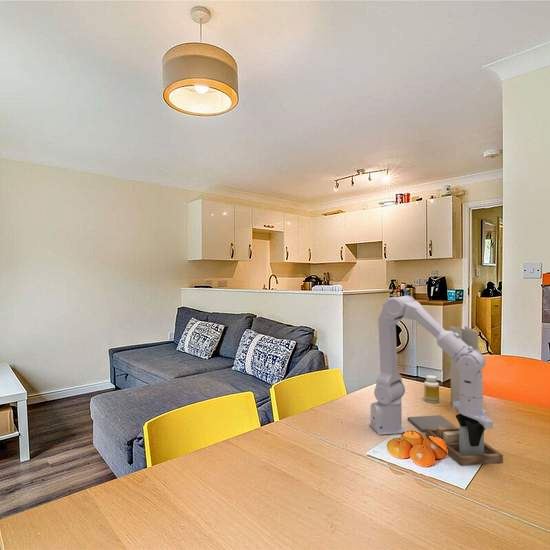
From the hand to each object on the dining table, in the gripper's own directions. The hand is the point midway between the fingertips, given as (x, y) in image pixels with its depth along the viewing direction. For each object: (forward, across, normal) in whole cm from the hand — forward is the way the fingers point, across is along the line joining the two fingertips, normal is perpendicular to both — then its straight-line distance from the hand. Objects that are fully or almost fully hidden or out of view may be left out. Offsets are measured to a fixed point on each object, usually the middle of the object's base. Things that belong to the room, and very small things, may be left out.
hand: (471, 443), depth 101 cm
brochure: (+4, +32, -19) cm, 37 cm away
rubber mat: (+3, +21, 0) cm, 21 cm away
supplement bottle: (+4, +42, -12) cm, 44 cm away
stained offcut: (+4, +10, 0) cm, 10 cm away
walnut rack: (+3, +5, 0) cm, 6 cm away
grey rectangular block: (+3, 0, 0) cm, 3 cm away
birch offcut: (+4, +6, 0) cm, 7 cm away
